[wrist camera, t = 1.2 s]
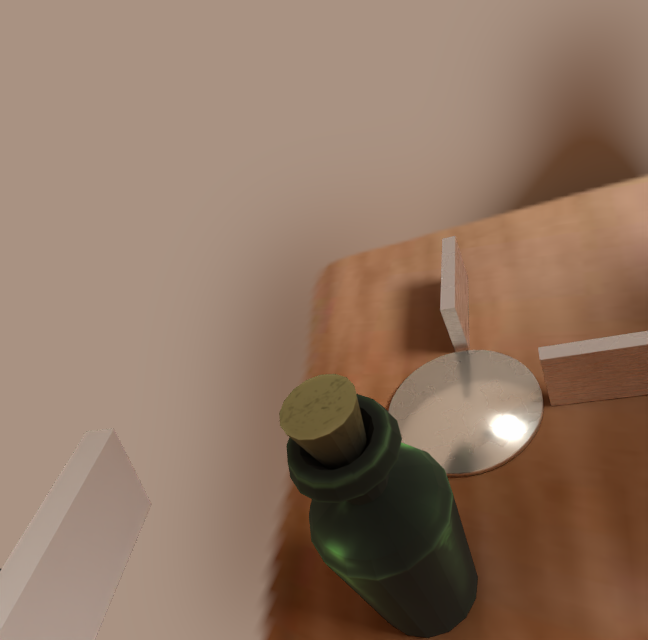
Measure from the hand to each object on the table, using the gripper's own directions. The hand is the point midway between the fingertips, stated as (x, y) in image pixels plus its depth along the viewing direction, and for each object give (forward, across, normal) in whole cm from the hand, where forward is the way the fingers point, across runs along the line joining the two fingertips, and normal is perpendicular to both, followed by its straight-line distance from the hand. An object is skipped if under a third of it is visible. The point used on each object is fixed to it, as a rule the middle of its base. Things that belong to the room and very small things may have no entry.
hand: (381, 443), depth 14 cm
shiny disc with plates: (+28, +6, -21) cm, 35 cm away
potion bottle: (+13, -1, -24) cm, 28 cm away
